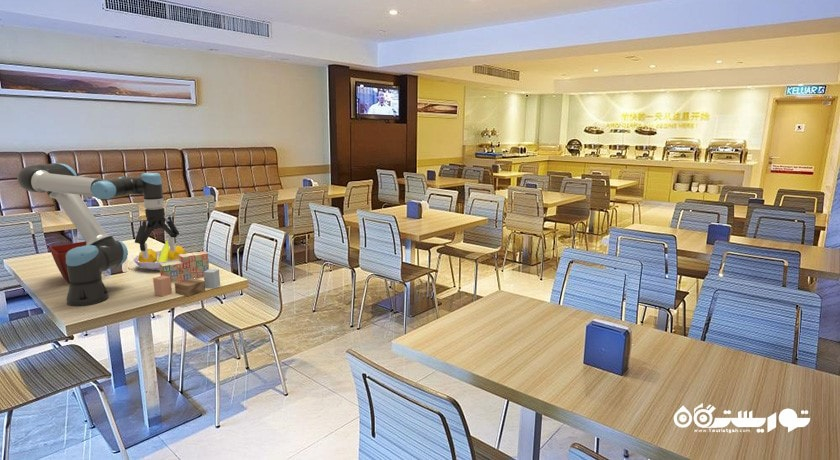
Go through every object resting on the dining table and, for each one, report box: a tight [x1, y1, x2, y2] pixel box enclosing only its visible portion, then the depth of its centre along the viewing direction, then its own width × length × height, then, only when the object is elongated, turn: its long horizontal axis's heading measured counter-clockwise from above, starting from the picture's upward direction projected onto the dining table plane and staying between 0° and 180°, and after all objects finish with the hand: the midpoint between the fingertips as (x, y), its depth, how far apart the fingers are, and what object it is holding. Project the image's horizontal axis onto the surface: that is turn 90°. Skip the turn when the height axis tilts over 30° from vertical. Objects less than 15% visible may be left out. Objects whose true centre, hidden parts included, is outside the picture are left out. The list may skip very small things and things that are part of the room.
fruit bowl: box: [132, 239, 188, 271], centre depth 257 cm, size 28×27×11 cm
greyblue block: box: [203, 268, 221, 289], centre depth 226 cm, size 5×5×8 cm
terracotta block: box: [152, 275, 173, 297], centre depth 215 cm, size 5×5×8 cm
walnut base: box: [174, 278, 206, 297], centre depth 219 cm, size 9×9×5 cm
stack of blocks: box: [159, 251, 210, 284], centre depth 237 cm, size 21×6×12 cm, turn 132°
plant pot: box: [49, 241, 103, 284], centre depth 233 cm, size 19×19×17 cm
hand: (159, 254), depth 212 cm, fingers open, 13 cm apart
